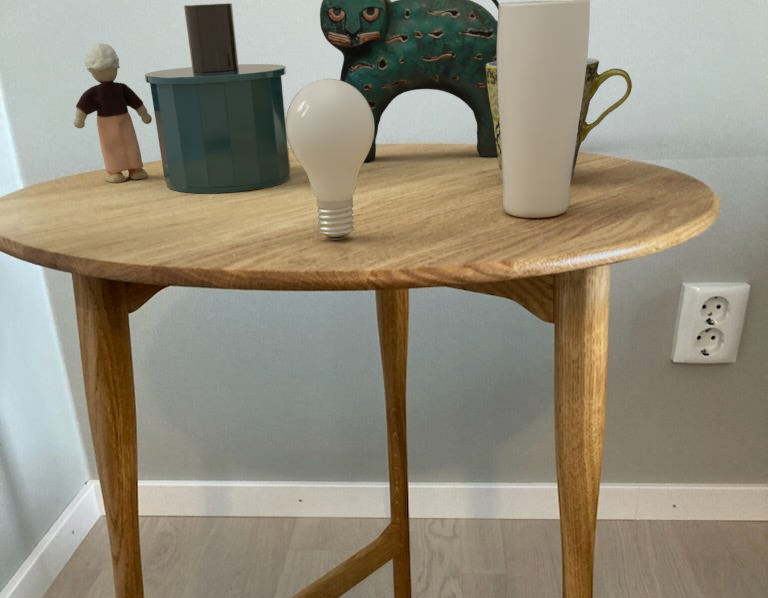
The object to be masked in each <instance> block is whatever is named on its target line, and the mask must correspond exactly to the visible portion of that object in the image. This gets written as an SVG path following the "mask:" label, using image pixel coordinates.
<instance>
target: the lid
mask: <svg viewBox="0 0 768 598" xmlns="http://www.w3.org/2000/svg"><path fill="white" fill-rule="evenodd" d="M233 9H234V8H233V3H232V2H230V3H229V2H226V3H225V2H223V3H203V4H202V3H201V4H188V5H186V4H185V5H183V11H184V17H185V22H186V23H185V25H186V32H187V39H188V40H187V41H188V48H189V54H190V62H191V66H187V67H178V68H168V69H162V70H161V69H160V70H155V71H149V72H146V73H145V74H144V82H145V83H146V84H147V83H148V84H150V83H152V84H210V83H226V82H239V81H250V80H259V79H267V78H273V77H278V76H282V77H283V76H285V75H287V66H286V65H283V64H273V63H271V64H270V63H246V64H245V63H242V64H240V63H239V57H238V47H237V39H236V30H235V20H234V10H233Z"/></svg>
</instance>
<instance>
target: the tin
mask: <svg viewBox="0 0 768 598" xmlns="http://www.w3.org/2000/svg"><path fill="white" fill-rule="evenodd" d="M149 87H150V92H151V98H152V105H153V113H154V118H155V125H156V126H155V127H156V132H157V138H158V139H157V140H158V145H159V152H160V157H161V163H162V171H163V178H164V182H165V183H166V187H167V188H168V189H170V190H172V191H174V192H175V191H176V192H180V193H190V194H226V193H238V192H249V191H255V190H260V189H265V188H266V189H267V188H270V187H274V186H278V185H282V184H284V183H286V182H288V181H289V180H291V163H290V151H289V144H288V140H287V136H286V127H285V125H286V116H287V114H286V105H285V104H286V103H285V94H284V82H283V75H282V76H278V77H273V78H267V79H259V80H250V81H239V82H226V83H210V84H152V83H149Z"/></svg>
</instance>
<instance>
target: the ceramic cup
mask: <svg viewBox="0 0 768 598" xmlns="http://www.w3.org/2000/svg"><path fill="white" fill-rule="evenodd" d="M599 64H600V60H598V59H596V58H590V57H587V66H586V74H585V82H584V89H583V96H582V103H581V110H580V117H579V124H578V131H577V138H576V146H575V153H574V160H573V168H572V175H571V180H572V179H573V177H574V174H575V169H576V165H577V160H578V155H579V152H580V151H579V150H580V148H581V145H582V143H583V142H585V140H586V138H587V136H588V135H589V133H590V132H591V131H592V130H593V129H594V128H596V127H597V126H599V124H600V123H601V122H602V121H603V120H604V119H605V118H606V117H607V116H608V115H609V114H611V113H612V112H613V111H615V110H617V108H619V107H620V106H621V105H622V104H624V102H626V100H627V99H628V98H629V96H630V94H631V93H632V88H633V82H632V78H631V77H630V75H629V73H628V72H627V71H625V70H624V69H622V68H610V69H607V70H605V71H603V72H601V73H600V74H599V73H598V69H599V66H600V65H599ZM614 76H620V77H621V78H624V80H625V81H626V84H627V85H626V92H625V93H624V95H623V96H622V97H621V98H620V99H618V100H617V101H616V102H615V103H614V104H612V105H610V106H609V107H608V108H607V109H605V110H604V111H603V112H602V113H601V114H600V115H599V116H598V117H597V119H596V120H594V121H593V122H592V123H588V122H587V121H586V120H587V116H588V113H589V109H590V103H591V100H593V97H594V96H595V94H596V92H597V91H598V90H599V88H600V86H601V85H602V84H603V83H604V82H606V81H607V80H608V79H610V78H611V77H614ZM486 77H487V87H488V94H489V101H490V107H491V112H492V116H493V123H494V132H495V139H496V146H497V153H498V156H497V160H498V169H499V176H500V179H501V182H503V177H502V156H501V138H500V120H499V103H498V86H497V61H495V62H490V63H487V64H486Z"/></svg>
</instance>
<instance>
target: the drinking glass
mask: <svg viewBox="0 0 768 598" xmlns="http://www.w3.org/2000/svg"><path fill="white" fill-rule="evenodd" d="M497 11H498V12H497V21H498V24H497V53H496V57H497V86H498V103H499V120H500V138H501V156H502V177H503V181H502V203H501V204H502V209H503V211H504V212H505V213H506V214H508V215H511V216H513V217H518V218H525V219H545V218H553V217H556V216H557V217H558V216H559V215H562V214H564V213H565V212H566V211H567V210H568V208H569V206H570V198H571V197H570V196H571V182H572V179H571V175H572V168H573V160H574V153H575V146H576V138H577V131H578V124H579V117H580V110H581V103H582V96H583V89H584V82H585V74H586V66H587V58H589V57H588V56H589V43H590V22H591V21H590V20H591V19H590V18H591V15H590V14H591V13H590V11H591V0H523V1H507V2H506V1H505V2H500V3H499V8H498V9H497Z"/></svg>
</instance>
